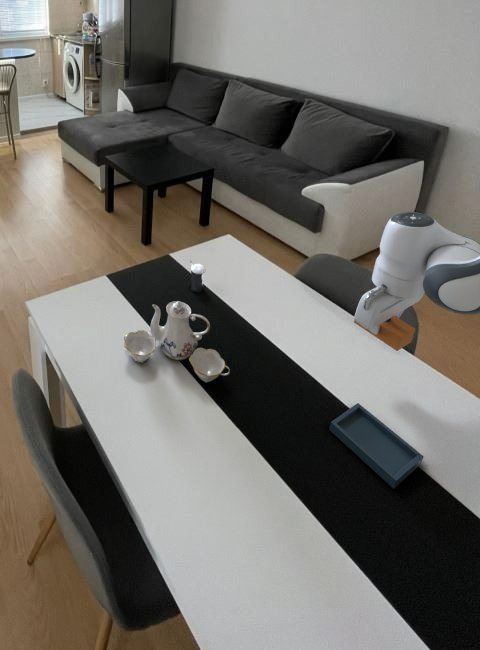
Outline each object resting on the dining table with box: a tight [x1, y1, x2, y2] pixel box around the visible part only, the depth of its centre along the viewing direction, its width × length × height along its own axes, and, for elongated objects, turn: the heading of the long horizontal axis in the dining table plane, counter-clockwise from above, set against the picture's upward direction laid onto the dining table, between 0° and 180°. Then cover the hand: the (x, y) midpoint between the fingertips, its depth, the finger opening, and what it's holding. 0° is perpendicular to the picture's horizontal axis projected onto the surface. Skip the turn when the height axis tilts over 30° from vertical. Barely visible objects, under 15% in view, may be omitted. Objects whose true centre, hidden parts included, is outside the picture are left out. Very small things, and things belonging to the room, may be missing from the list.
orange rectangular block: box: [353, 316, 416, 352], centre depth 100 cm, size 10×6×5 cm, turn 26°
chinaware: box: [123, 300, 231, 383], centre depth 113 cm, size 28×17×17 cm, turn 73°
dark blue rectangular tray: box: [328, 402, 425, 490], centre depth 91 cm, size 14×10×2 cm
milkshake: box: [189, 259, 206, 293], centre depth 138 cm, size 4×5×10 cm
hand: (383, 326), depth 101 cm, fingers closed on orange rectangular block, 5 cm apart
